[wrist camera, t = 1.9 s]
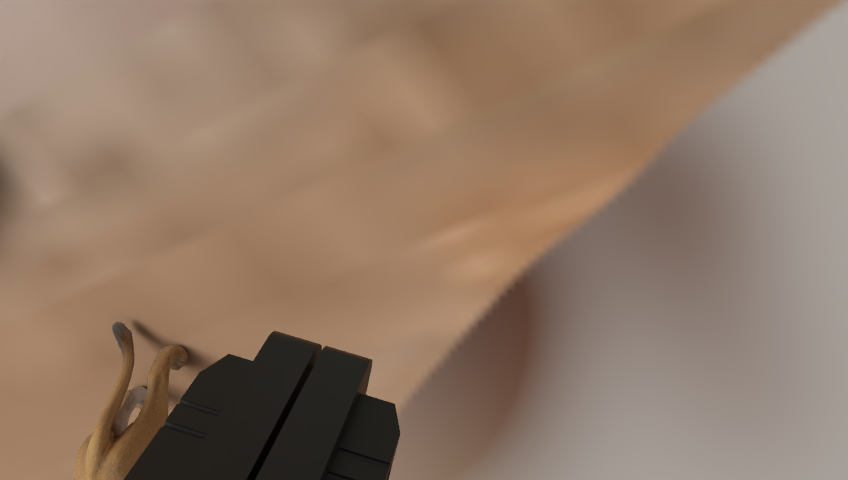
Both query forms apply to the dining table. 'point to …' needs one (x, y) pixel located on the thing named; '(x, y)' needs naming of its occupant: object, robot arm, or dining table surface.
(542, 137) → the dining table surface
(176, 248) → the dining table surface
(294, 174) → the dining table surface
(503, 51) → the dining table surface
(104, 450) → the lion figurine
